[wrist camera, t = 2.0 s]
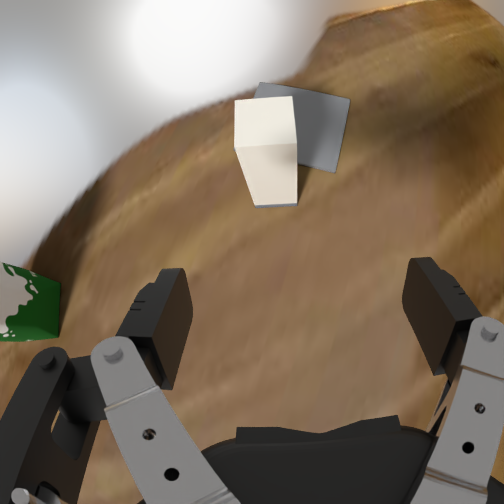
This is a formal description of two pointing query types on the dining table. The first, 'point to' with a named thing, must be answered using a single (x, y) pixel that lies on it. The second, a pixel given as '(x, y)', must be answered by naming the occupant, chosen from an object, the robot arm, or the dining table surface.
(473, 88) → the dining table surface
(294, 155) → the block
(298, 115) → the mat
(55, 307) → the milk carton
